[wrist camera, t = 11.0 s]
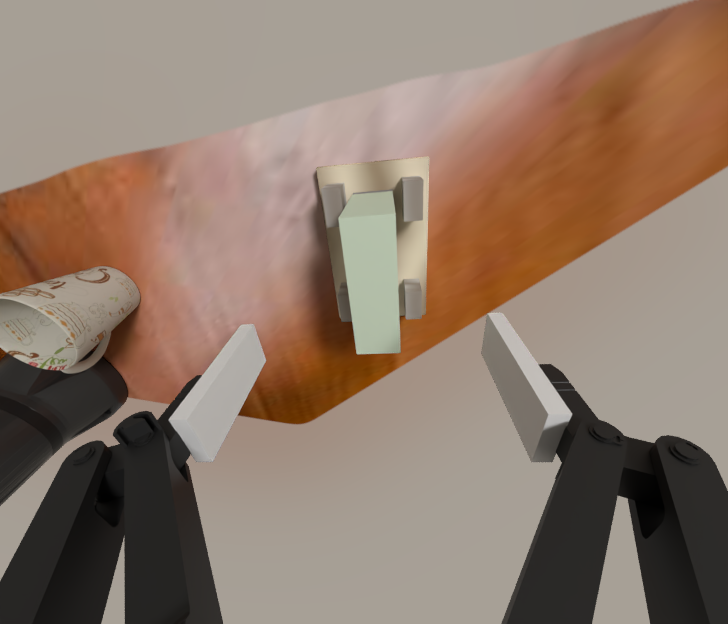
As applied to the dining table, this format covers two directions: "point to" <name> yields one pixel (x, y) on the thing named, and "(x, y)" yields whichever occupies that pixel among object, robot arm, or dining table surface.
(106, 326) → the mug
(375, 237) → the door panel
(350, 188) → the hinge bracket
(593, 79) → the dining table surface
